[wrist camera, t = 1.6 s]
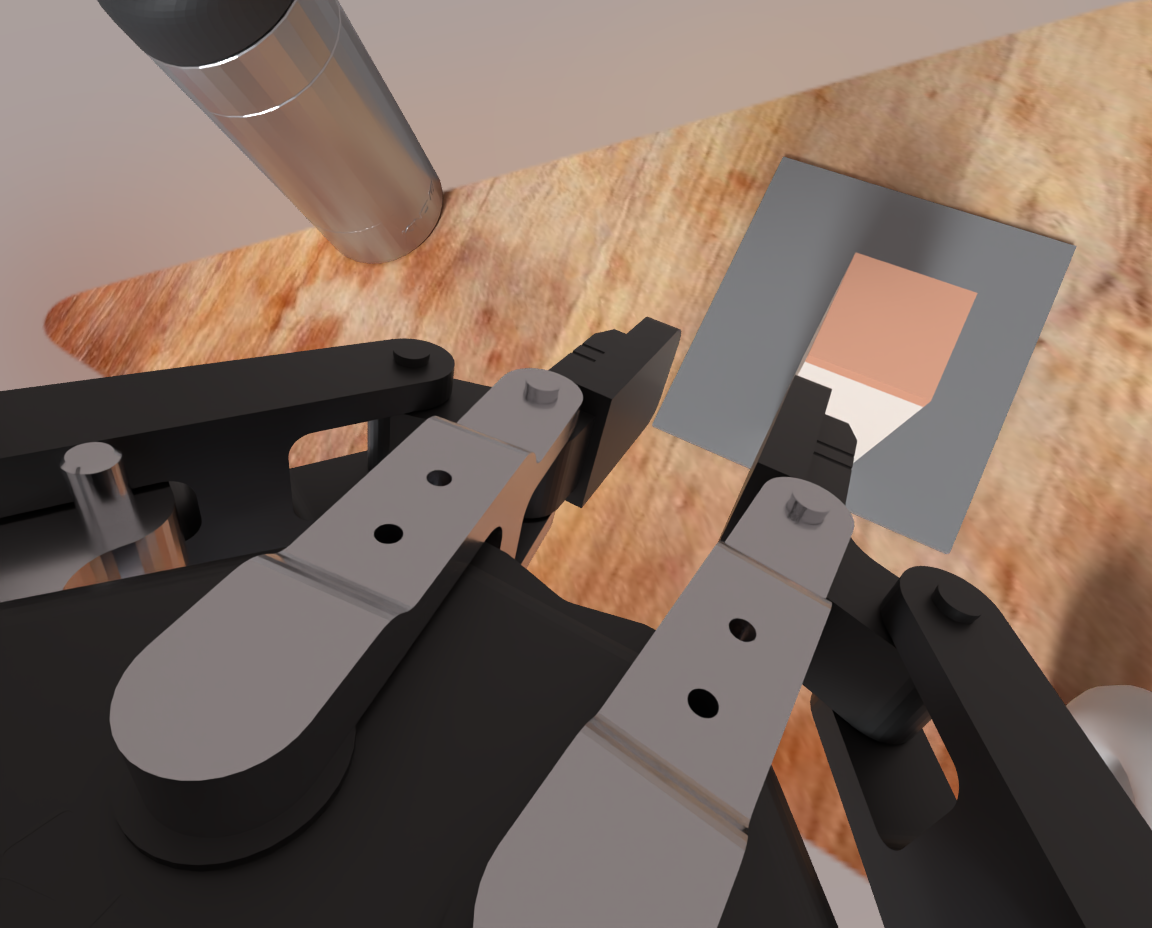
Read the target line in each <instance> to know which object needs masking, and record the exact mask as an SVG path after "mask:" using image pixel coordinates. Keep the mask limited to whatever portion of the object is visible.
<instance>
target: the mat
mask: <svg viewBox="0 0 1152 928" xmlns="http://www.w3.org/2000/svg"><path fill="white" fill-rule="evenodd" d="M1075 249H1076V246H1074V245H1071V244H1067V243H1064V242H1061V241H1058V240H1054V239H1051V238H1048V237H1045V236H1041V235H1038V234H1035V233H1032V232H1028V231H1025V230H1022V229H1018V228H1015V227H1012V226H1009V225H1005V224H1002V223H999V222H996V221H992V220H989V219H986V218H983V217H979V216H976V215H973V214H969V213H966V212H963V211H960V210H956V209H953V208H950V207H947V206H943V205H940V204H937V203H934V202H930V201H927V200H924V199H920V198H917V197H914V196H911V195H907V194H904V193H901V192H898V191H894V190H891V189H888V188H885V187H881V186H878V185H875V184H871V183H868V182H865V181H862V180H858V179H855V178H852V177H849V176H845V175H842V174H839V173H836V172H832V171H829V170H826V169H822V168H819V167H816V166H813V165H809V164H806V163H803V162H800V161H796V160H793V159H790V158H787V157H783V158H782V160H781V162H780V164H779V166H778V169H777V171H776V173H775V175H774V177H773V179H772V181H771V183H770V185H769V187H768V189H767V191H766V193H765V195H764V197H763V199H762V201H761V203H760V205H759V207H758V209H757V211H756V213H755V216H754V218H753V220H752V222H751V224H750V226H749V228H748V230H747V232H746V234H745V236H744V238H743V240H742V242H741V244H740V246H739V248H738V250H737V252H736V254H735V256H734V258H733V260H732V263H731V265H730V267H729V269H728V271H727V273H726V275H725V277H724V279H723V281H722V283H721V285H720V287H719V289H718V291H717V293H716V295H715V297H714V299H713V301H712V303H711V305H710V307H709V310H708V312H707V314H706V316H705V318H704V320H703V322H702V324H701V326H700V328H699V330H698V332H697V334H696V336H695V338H694V340H693V342H692V344H691V346H690V348H689V350H688V352H687V354H686V357H685V359H684V361H683V363H682V365H681V367H680V369H679V371H678V373H677V375H676V377H675V379H674V381H673V383H672V385H671V387H670V389H669V391H668V393H667V395H666V397H665V399H664V401H663V403H662V406H661V408H660V410H659V412H658V414H657V416H656V418H655V420H654V422H653V424H652V425H653V427H655V428H657V429H660V430H662V431H664V432H667V433H669V434H671V435H673V436H676V437H678V438H680V439H683V440H685V441H687V442H690V443H692V444H694V445H696V446H699V447H701V448H703V449H706V450H708V451H710V452H713V453H715V454H717V455H719V456H722V457H724V458H726V459H729V460H731V461H733V462H735V463H738V464H740V465H742V466H745V467H747V468H749V469H751V467H752V464H753V462H754V460H755V458H756V456H757V454H758V452H759V449H760V447H761V445H762V443H763V441H764V439H765V437H766V435H767V432H768V430H769V428H770V426H771V424H772V422H773V420H774V418H775V416H776V414H777V411H778V409H779V407H780V405H781V403H782V401H783V399H784V397H785V395H786V393H787V390H788V388H789V386H790V384H791V382H792V380H793V377H794V375H795V373H796V371H797V369H798V367H799V365H800V362H801V360H802V358H803V356H804V354H805V352H806V350H807V348H808V346H809V344H810V342H811V340H812V338H813V336H814V334H815V332H816V330H817V328H818V326H819V324H820V322H821V320H822V318H823V316H824V314H825V312H826V310H827V308H828V306H829V304H830V302H831V300H832V298H833V296H834V294H835V292H836V290H837V289H838V287H839V285H840V283H841V281H842V279H843V277H844V275H845V273H846V271H847V269H848V267H849V265H850V263H851V261H852V259H853V257H854V255H855V253H859V254H862V255H865V256H868V257H871V258H874V259H877V260H880V261H883V262H886V263H889V264H892V265H895V266H898V267H901V268H904V269H907V270H910V271H913V272H916V273H919V274H922V275H925V276H928V277H931V278H934V279H937V280H940V281H943V282H946V283H949V284H952V285H955V286H958V287H961V288H964V289H967V290H970V291H973V292H976V293H977V296H976V298H975V300H974V302H973V305H972V307H971V309H970V312H969V314H968V316H967V319H966V321H965V323H964V326H963V328H962V330H961V333H960V335H959V337H958V340H957V342H956V344H955V347H954V349H953V351H952V354H951V356H950V358H949V360H948V363H947V365H946V367H945V370H944V372H943V374H942V377H941V379H940V381H939V384H938V386H937V388H936V391H935V393H934V395H933V398H932V400H931V402H929V403H928V404H927V405H925V406H924V407H923V408H922V409H920V410H919V411H918V412H917V413H915V414H914V415H913V416H912V417H910V418H909V419H908V420H907V421H905V422H904V423H903V424H902V425H900V426H899V427H898V428H897V429H895V430H894V431H893V432H892V433H890V434H889V435H888V436H887V437H885V438H884V439H883V440H882V441H880V442H879V443H878V444H876V445H875V446H874V447H873V448H871V449H870V450H869V451H868V452H866V453H865V454H864V455H863V456H861V457H860V458H859V459H858V460H856V461H855V462H854V463H853V467H852V469H851V470H852V473H851V478H850V483H849V489H848V494H847V499H846V505H845V506H846V507H847V509H848V510H849V512H850V513H853V514H855V515H857V516H860V517H862V518H864V519H866V520H869V521H871V522H873V523H876V524H878V525H880V526H883V527H885V528H887V529H889V530H892V531H894V532H896V533H899V534H901V535H903V536H906V537H908V538H910V539H912V540H915V541H917V542H919V543H922V544H924V545H926V546H929V547H931V548H933V549H935V550H938V551H940V552H942V553H945V554H949V553H950V551H951V549H952V546H953V544H954V541H955V539H956V536H957V534H958V532H959V529H960V527H961V524H962V522H963V519H964V517H965V515H966V512H967V510H968V507H969V505H970V503H971V500H972V498H973V495H974V493H975V490H976V488H977V486H978V483H979V481H980V478H981V476H982V474H983V471H984V469H985V466H986V464H987V461H988V459H989V457H990V454H991V452H992V449H993V447H994V445H995V442H996V440H997V437H998V435H999V432H1000V430H1001V428H1002V425H1003V423H1004V420H1005V418H1006V416H1007V413H1008V411H1009V408H1010V406H1011V403H1012V401H1013V399H1014V396H1015V394H1016V391H1017V389H1018V386H1019V384H1020V382H1021V379H1022V377H1023V374H1024V372H1025V370H1026V367H1027V365H1028V362H1029V360H1030V357H1031V355H1032V353H1033V350H1034V348H1035V345H1036V343H1037V341H1038V338H1039V336H1040V333H1041V331H1042V328H1043V326H1044V324H1045V321H1046V319H1047V316H1048V314H1049V312H1050V309H1051V307H1052V304H1053V302H1054V299H1055V297H1056V295H1057V292H1058V290H1059V287H1060V285H1061V283H1062V280H1063V278H1064V275H1065V273H1066V270H1067V268H1068V266H1069V263H1070V261H1071V258H1072V256H1073V253H1074V251H1075Z"/></svg>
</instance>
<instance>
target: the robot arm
mask: <svg viewBox="0 0 1152 928" xmlns="http://www.w3.org/2000/svg"><path fill="white" fill-rule="evenodd" d="M98 2H99V4H100V5H101V7H102V8H103V9H104V10H105V11H106V12H107V14H108V15H109V16H110V17H111V18H112V20H114V22H115V23H116V24H117V25H118V26H119V27H120V28H121V29H122V30H123V31H124V32H125V33H126V34H127V35H128V36H129V37H130V38H131V39H132V40H133V41H134V42H135V43H136V44H137V45H138V46H139V47H140V49H142V50H143V51H144V52H145V53H146V54H147V55H148V56H149V57H150V58H151V59H152V60H153V61H154V62H155V63H156V64H157V65H158V66H159V67H160V69H162V70H163V71H164V72H165V73H166V75H167V76H168V77H169V78H170V79H171V80H172V81H173V82H174V83H175V84H176V85H177V86H178V87H179V88H180V89H181V90H182V91H183V92H184V93H185V94H186V95H187V96H188V97H189V98H190V99H191V100H192V101H193V102H194V103H195V104H196V105H197V106H198V107H199V108H200V109H201V110H202V111H203V112H204V113H205V114H206V115H207V116H208V117H209V118H210V119H211V120H212V121H213V122H214V123H215V124H216V125H217V126H218V127H219V129H221V131H222V132H223V133H224V134H225V135H226V136H227V137H228V138H229V139H230V140H231V141H232V142H233V143H234V144H235V145H236V146H237V147H238V148H239V149H240V150H241V151H242V152H243V153H244V154H245V155H246V156H247V157H248V158H249V159H250V160H251V161H252V162H253V163H254V164H255V165H256V166H257V167H258V169H259V170H260V171H261V172H262V173H264V175H265V176H266V177H267V178H268V179H269V180H270V181H271V182H272V183H273V184H274V185H275V186H276V187H277V188H278V189H279V190H280V191H281V192H282V193H283V194H284V195H285V196H286V197H287V198H288V199H289V200H290V201H291V202H292V203H293V204H294V205H295V206H296V207H297V209H298V210H300V212H301V213H302V214H303V215H304V216H305V217H306V218H307V219H308V220H309V221H310V222H311V223H312V224H313V225H314V226H315V227H316V228H317V229H318V230H319V231H320V232H321V233H322V234H323V236H324V237H325V238H326V239H327V240H328V241H329V242H330V243H331V244H332V245H333V246H334V247H335V248H336V249H337V250H338V251H340V252H341V253H342V254H344V255H345V256H346V257H348V258H350V259H353V260H355V261H358V262H363V263H384V262H388V261H392V260H396V259H398V258H400V257H402V256H404V255H407V254H408V253H410V252H411V251H412V250H414V249H415V248H417V247H418V246H419V245H420V244H421V243H422V242H423V241H424V240H425V239H426V238H427V237H428V236H429V234H430V233H431V231H432V230H433V228H434V227H435V225H436V223H437V221H438V218H439V216H440V213H441V208H442V203H443V192H442V187H441V183H440V180H439V178H438V176H437V174H436V172H435V170H434V169H433V167H432V165H431V163H430V161H429V160H428V158H427V156H426V154H425V153H424V151H423V149H422V148H421V145H420V144H419V142H418V140H417V138H416V136H415V134H414V133H413V131H412V129H411V128H410V126H409V124H408V122H407V120H406V119H405V117H404V115H403V113H402V112H401V110H400V108H399V106H398V105H397V103H396V101H395V99H394V98H393V96H392V94H391V92H390V91H389V89H388V87H387V85H386V84H385V82H384V80H383V79H382V77H381V75H380V73H379V71H378V70H377V68H376V66H375V64H374V63H373V61H372V59H371V57H370V56H369V54H368V52H367V50H366V49H365V47H364V45H363V43H362V42H361V40H360V38H359V36H358V35H357V33H356V31H355V29H354V28H353V26H352V24H351V22H350V20H349V19H348V17H347V16H346V14H345V12H344V10H343V8H342V7H341V5H340V3H339V1H338V0H98ZM680 337H681V330H680V329H678V328H675V327H672V326H670V325H667V324H665V323H662V322H660V321H657V320H654V319H652V318H649V317H646V318H644V319H643V320H642V321H641V322H640V323H639V324H637V325H636V326H635V327H634V328H633V329H632V330H631V331H629V332H628V333H627V334H625V333H622V332H620V331H617V330H615V329H613V330H609V331H605V332H600V333H596V334H594V335H593V336H591V337H590V338H589V339H587V340H586V341H585V342H584V343H583V344H582V345H580V346H579V347H577V348H576V349H575V350H573V353H570V354H568V355H567V356H566V357H565V358H563V359H562V360H561V361H560V362H558V363H557V364H556V365H554V366H553V367H552V368H551V369H549V370H543V369H535V368H525V369H518V370H514V371H511V372H509V373H507V374H505V375H504V376H503V377H502V378H501V379H500V380H499V381H498V382H497V383H496V384H495V385H494V386H493V387H489V386H484V385H479V384H475V383H470V382H466V381H462V380H457V379H453V376H454V365H455V364H454V359H453V357H452V356H451V354H450V353H449V352H447V351H446V350H445V349H443V348H442V347H440V346H438V345H435V344H433V343H430V342H426V341H422V340H416V339H391V340H384V341H376V342H368V343H361V344H353V345H346V346H338V347H331V348H323V349H316V350H308V351H301V352H293V353H286V354H278V355H270V356H263V357H255V358H248V359H240V360H233V361H225V362H218V363H210V364H203V365H195V366H188V367H180V368H173V369H165V370H157V371H150V372H142V373H135V374H127V375H120V376H112V377H105V378H98V379H90V380H83V381H75V382H67V383H60V384H52V385H45V386H37V387H29V388H22V389H14V390H7V391H0V928H838V925H837V923H836V921H835V918H834V916H833V913H832V911H831V908H830V906H829V903H828V901H827V899H826V896H825V894H824V891H823V889H822V886H821V884H820V881H819V879H818V877H817V874H816V872H815V870H814V867H813V865H812V862H811V860H810V857H809V855H808V852H807V850H806V847H805V845H804V842H803V840H802V837H801V835H800V833H799V830H798V828H797V825H796V823H795V820H794V818H793V815H792V813H791V811H790V808H789V806H788V803H787V801H786V798H785V796H784V793H783V791H782V789H781V786H780V784H779V781H778V779H777V776H776V774H775V772H774V770H773V767H772V765H771V763H772V760H773V758H774V755H775V753H776V750H777V748H778V745H779V742H780V740H781V737H782V735H783V732H784V729H785V727H786V724H787V722H788V719H789V716H790V714H791V711H792V709H793V706H794V704H795V701H796V698H797V696H798V693H799V691H800V688H801V685H802V684H803V685H804V686H805V687H806V688H807V689H809V690H810V691H811V692H812V695H811V701H810V704H811V711H812V715H813V718H814V721H815V724H816V727H817V730H818V733H819V736H820V739H821V742H822V745H823V748H824V751H825V754H826V757H827V760H828V763H829V766H830V768H831V771H832V774H833V777H834V780H835V783H836V786H837V789H838V792H839V795H840V798H841V801H842V804H843V807H844V810H845V813H846V816H847V818H848V821H849V824H850V827H851V830H852V833H853V836H854V839H855V842H856V845H857V848H858V851H859V854H860V857H861V860H862V863H863V866H864V868H865V871H866V874H867V877H868V880H869V883H870V886H871V889H872V892H873V895H874V898H875V901H876V903H877V907H878V910H879V913H880V915H881V918H882V921H883V924H884V927H885V928H1152V830H1151V828H1150V827H1149V825H1148V824H1147V822H1146V821H1145V820H1144V818H1143V817H1142V815H1141V814H1140V812H1139V811H1138V809H1137V808H1136V807H1135V805H1134V804H1133V802H1132V801H1131V799H1130V798H1129V796H1128V795H1127V794H1126V792H1125V791H1124V789H1123V788H1122V786H1121V785H1120V783H1119V782H1118V781H1117V779H1116V778H1115V776H1114V775H1113V773H1112V772H1111V770H1110V769H1109V768H1108V766H1107V765H1106V763H1105V762H1104V760H1103V759H1102V757H1101V756H1100V755H1099V753H1098V752H1097V750H1096V749H1095V747H1094V746H1093V744H1092V743H1091V742H1090V740H1089V739H1088V737H1087V736H1086V734H1085V733H1084V731H1083V730H1082V729H1081V727H1080V726H1079V724H1078V723H1077V721H1076V720H1075V718H1074V717H1073V716H1072V714H1071V713H1070V711H1069V710H1068V708H1067V707H1066V705H1065V704H1064V703H1063V701H1062V700H1061V698H1060V697H1059V695H1058V694H1057V693H1056V691H1055V690H1054V688H1053V687H1052V685H1051V684H1050V682H1049V681H1048V680H1047V678H1046V677H1045V675H1044V674H1043V672H1042V671H1041V669H1040V668H1039V667H1038V665H1037V664H1036V662H1035V661H1034V659H1033V658H1032V656H1031V655H1030V654H1029V652H1028V651H1027V649H1026V648H1025V646H1024V645H1023V643H1022V642H1021V641H1020V639H1019V638H1018V636H1017V635H1016V633H1015V632H1014V630H1013V629H1012V628H1011V626H1010V625H1009V623H1008V622H1007V620H1006V619H1005V617H1004V616H1003V615H1002V613H1001V612H1000V610H999V609H998V608H997V607H996V605H995V604H994V603H993V602H992V601H991V600H990V599H989V598H988V597H987V596H986V595H985V594H983V593H982V592H981V591H980V590H979V589H977V588H976V587H974V586H973V585H972V584H970V583H968V582H967V581H965V580H964V579H962V578H960V577H958V576H956V575H954V574H952V573H949V572H947V571H944V570H941V569H938V568H933V567H928V566H916V567H912V568H909V569H907V570H906V571H904V573H903V574H902V575H901V577H900V578H899V577H897V576H896V575H894V574H893V573H891V572H890V571H888V570H887V569H885V568H884V567H883V566H881V565H880V564H878V563H877V562H875V561H874V560H873V559H871V558H870V557H869V556H868V555H867V554H865V553H864V552H863V551H862V550H861V549H860V548H859V547H858V546H857V545H856V544H855V542H854V541H853V540H852V538H851V535H852V533H853V530H854V520H853V517H852V515H851V513H850V512H849V510H848V509H847V507H846V506H845V505H846V499H847V494H848V489H849V483H850V478H851V473H852V470H851V469H852V467H853V462H854V456H855V451H856V446H857V439H856V437H855V435H854V433H853V431H852V429H851V427H850V425H849V423H846V422H844V421H841V420H839V419H836V418H834V417H831V416H829V415H826V414H825V412H826V409H827V405H828V402H829V399H830V395H831V392H832V389H831V388H828V387H826V386H823V385H821V384H818V383H816V382H813V381H810V380H808V379H805V378H803V377H800V376H798V375H795V376H794V378H793V380H792V382H791V384H790V386H789V388H788V390H787V393H786V395H785V397H784V399H783V401H782V403H781V405H780V407H779V409H778V411H777V414H776V416H775V418H774V420H773V422H772V424H771V426H770V428H769V430H768V432H767V435H766V437H765V439H764V441H763V443H762V445H761V447H760V449H759V452H758V454H757V456H756V458H755V460H754V462H753V464H752V467H751V469H750V471H749V473H748V476H747V478H746V480H745V482H744V485H743V487H742V489H741V491H740V494H739V496H738V498H737V500H736V503H735V505H734V507H733V509H732V512H731V514H730V516H729V518H728V521H727V523H726V525H725V528H724V530H723V532H722V534H721V537H720V539H719V541H718V543H717V544H716V546H715V547H714V548H713V550H712V551H711V553H710V554H709V555H708V557H707V558H706V560H705V561H704V563H703V564H702V565H701V567H700V568H699V570H698V571H697V573H696V574H695V575H694V577H693V578H692V580H691V581H690V583H689V584H688V585H687V587H686V588H685V590H684V591H683V593H682V594H681V595H680V597H679V598H678V600H677V601H676V602H675V604H674V605H673V607H672V608H671V610H670V611H669V612H668V614H667V615H666V617H665V618H664V620H663V621H662V622H661V624H660V625H659V627H658V628H657V630H654V629H652V628H651V627H649V626H647V625H645V624H642V623H638V622H635V621H631V620H628V619H625V618H621V617H618V616H614V615H611V614H607V613H604V612H600V611H597V610H594V609H590V608H587V607H583V606H580V605H576V604H573V603H570V602H567V601H566V600H564V599H562V598H561V597H559V596H558V595H557V594H555V593H554V592H553V591H552V590H551V589H550V588H548V587H547V586H546V585H545V584H544V583H542V582H541V581H540V580H539V579H538V578H536V577H535V576H534V575H533V574H532V573H530V572H529V571H528V570H527V569H526V568H527V567H528V565H529V563H530V561H531V560H532V558H533V556H534V555H535V553H536V551H537V550H538V548H539V546H540V544H541V543H542V541H543V539H544V538H545V536H546V534H547V532H548V531H549V529H550V527H551V525H552V523H553V518H554V514H555V511H556V510H557V509H558V508H559V506H560V505H561V504H562V503H563V502H564V501H565V500H566V501H568V502H570V503H572V504H574V505H576V506H578V507H580V508H582V507H583V506H584V504H585V503H586V502H587V501H588V499H589V498H590V497H591V496H592V494H593V493H594V492H595V491H596V489H597V488H598V487H599V486H600V484H601V483H602V482H603V480H604V479H605V478H606V477H607V475H608V474H609V473H610V472H611V470H612V469H613V468H614V467H615V465H616V464H617V463H618V462H619V460H620V459H621V458H622V456H623V455H624V454H625V453H626V451H627V450H628V449H629V448H630V446H631V445H632V444H633V443H634V441H635V440H636V439H637V438H638V436H639V435H640V434H641V432H642V431H643V430H644V429H645V427H646V426H647V425H648V423H649V422H650V420H651V418H652V416H653V414H654V412H655V410H656V408H657V406H658V403H659V401H660V398H661V395H662V392H663V389H664V386H665V383H666V380H667V377H668V374H669V371H670V368H671V365H672V362H673V359H674V356H675V353H676V350H677V347H678V344H679V341H680ZM366 421H368V451H363V452H359V453H355V454H351V455H346V456H342V457H338V458H334V459H329V460H325V461H321V462H316V463H312V464H308V465H304V466H299V467H295V468H291V469H289V460H288V455H289V451H290V449H291V447H292V445H293V444H294V443H295V442H296V441H297V440H298V439H300V438H301V437H303V436H305V435H307V434H310V433H313V432H318V431H323V430H328V429H333V428H337V427H342V426H347V425H352V424H357V423H362V422H366ZM931 719H932V720H933V722H934V724H935V726H936V728H937V730H938V732H939V734H940V736H941V738H942V740H943V742H944V744H945V746H946V748H947V750H948V753H949V755H950V757H951V759H952V761H953V763H954V765H955V768H956V771H957V774H958V780H959V794H958V799H957V800H956V798H955V796H954V794H953V792H952V789H951V787H950V785H949V783H948V781H947V779H946V777H945V775H944V773H943V771H942V769H941V767H940V764H939V762H938V760H937V758H936V756H935V754H934V752H933V750H932V748H931V746H930V744H929V742H928V739H927V737H926V735H925V733H924V731H923V729H922V728H923V727H924V726H925V725H926V724H927V723H928V722H929V721H930V720H931Z"/></svg>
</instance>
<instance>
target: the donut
mask: <svg viewBox="0 0 1152 928" xmlns="http://www.w3.org/2000/svg"><path fill="white" fill-rule="evenodd" d="M1066 707H1067V708H1068V710H1069V711H1070V713H1071V714H1072V716H1073V717H1074V718H1075V720H1076V721H1077V723H1078V724H1079V726H1080V727H1081V729H1082V730H1083V731H1084V733H1085V734H1086V736H1087V737H1088V739H1089V740H1090V742H1091V743H1092V744H1093V746H1094V747H1095V749H1096V750H1097V752H1098V753H1099V755H1100V756H1101V757H1102V759H1103V760H1104V762H1105V763H1106V765H1107V766H1108V768H1109V769H1110V770H1111V772H1112V773H1113V775H1114V776H1115V778H1116V779H1117V781H1118V782H1119V783H1120V785H1121V786H1122V788H1123V789H1124V791H1125V792H1126V794H1127V795H1128V796H1129V798H1130V799H1131V801H1132V802H1133V804H1134V805H1135V807H1136V808H1137V809H1138V811H1139V812H1140V814H1141V815H1142V817H1143V818H1144V820H1145V821H1146V822H1147V824H1148V825H1149V827H1150V828H1151V830H1152V692H1151V691H1149V690H1146V689H1143V688H1140V687H1136V686H1133V685H1111V686H1097V687H1094V688H1091V689H1088V690H1086V691H1085V692H1083V693H1082V694H1080V695H1079V696H1077V697H1076V698H1074V699H1073V700H1071V701H1070V702H1069V703H1068V704H1067V705H1066Z"/></svg>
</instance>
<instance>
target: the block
mask: <svg viewBox="0 0 1152 928" xmlns="http://www.w3.org/2000/svg"><path fill="white" fill-rule="evenodd" d="M976 296H977V293H976V292H973V291H970V290H967V289H964V288H961V287H958V286H955V285H952V284H949V283H946V282H943V281H940V280H937V279H934V278H931V277H928V276H925V275H922V274H919V273H916V272H913V271H910V270H907V269H904V268H901V267H898V266H895V265H892V264H889V263H886V262H883V261H880V260H877V259H874V258H871V257H868V256H865V255H862V254H859V253H855V255H854V257H853V259H852V261H851V263H850V265H849V267H848V269H847V271H846V273H845V275H844V277H843V279H842V281H841V283H840V285H839V287H838V289H837V290H836V292H835V294H834V296H833V298H832V300H831V302H830V304H829V306H828V308H827V310H826V312H825V314H824V316H823V318H822V320H821V322H820V324H819V326H818V328H817V330H816V332H815V334H814V336H813V338H812V340H811V342H810V344H809V346H808V348H807V350H806V352H805V354H804V356H803V358H802V360H801V362H800V365H799V367H798V369H797V371H796V373H795V375H798V376H800V377H803V378H805V379H808V380H810V381H813V382H816V383H818V384H821V385H823V386H826V387H828V388H831V389H832V392H831V395H830V399H829V402H828V405H827V409H826V412H825V414H826V415H829V416H831V417H834V418H836V419H839V420H841V421H844V422H846V423H849V425H850V427H851V429H852V431H853V433H854V435H855V437H856V439H857V446H856V451H855V456H854V462H855V461H856V460H858V459H859V458H860V457H861V456H863V455H864V454H865V453H866V452H868V451H869V450H870V449H871V448H873V447H874V446H875V445H876V444H878V443H879V442H880V441H882V440H883V439H884V438H885V437H887V436H888V435H889V434H890V433H892V432H893V431H894V430H895V429H897V428H898V427H899V426H900V425H902V424H903V423H904V422H905V421H907V420H908V419H909V418H910V417H912V416H913V415H914V414H915V413H917V412H918V411H919V410H920V409H922V408H923V407H924V406H925V405H927V404H928V403H929V402H931V400H932V398H933V395H934V393H935V391H936V388H937V386H938V384H939V381H940V379H941V377H942V374H943V372H944V370H945V367H946V365H947V363H948V360H949V358H950V356H951V354H952V351H953V349H954V347H955V344H956V342H957V340H958V337H959V335H960V333H961V330H962V328H963V326H964V323H965V321H966V319H967V316H968V314H969V312H970V309H971V307H972V305H973V302H974V300H975V298H976ZM795 375H794V376H795ZM793 378H794V377H793ZM854 462H853V463H854Z"/></svg>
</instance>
